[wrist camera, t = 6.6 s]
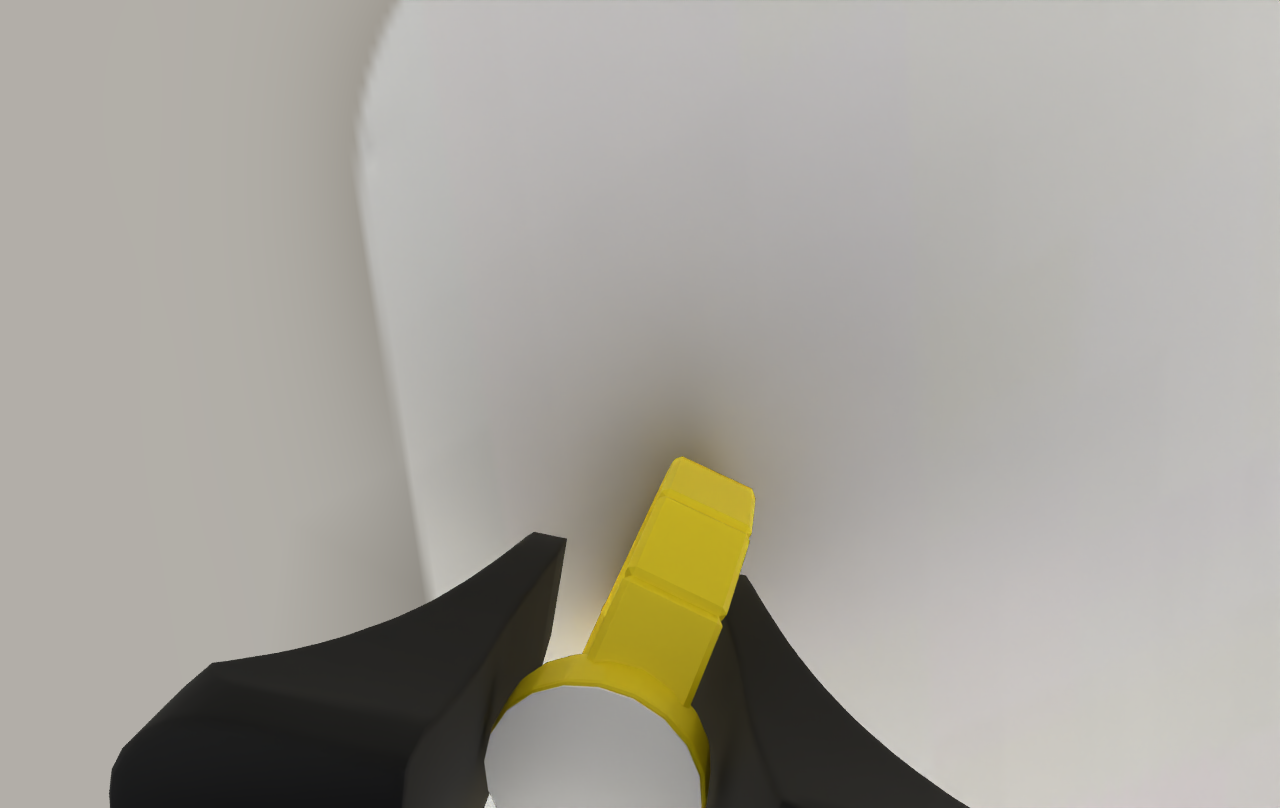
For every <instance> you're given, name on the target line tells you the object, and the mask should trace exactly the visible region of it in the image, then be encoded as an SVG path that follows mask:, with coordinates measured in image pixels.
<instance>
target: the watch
mask: <svg viewBox="0 0 1280 808" xmlns="http://www.w3.org/2000/svg"><path fill="white" fill-rule="evenodd" d="M754 508H755V495H754V493H753V490H752V488H749V487H747V486H745V485H743V484H741V483H739V482H737V481H734V480H732V479H730V478H728V477H726V476H724V475H722V474H719V473H717V472H715V471H713V470H711V469H709V468H707V467H704V466H702V465H700V464H698V463H696V462H694V461H691V460H689V459H687V458H685V457H683V456H682V457H679V458H676V459H674V461H673V462H672V463H671V465H670V467H669V469H668V471H667V473H666V475H665V477H664V479H663V482H662V484H661V486H660V488H659V490H658V492H657V494H656V496H655V498H654V500H653V502H652V505H651V507H650V509H649V511H648V513H647V515H646V517H645V520H644V522H643V524H642V526H641V528H640V530H639V532H638V535H637V537H636V539H635V541H634V543H633V545H632V547H631V549H630V552H629V554H628V556H627V558H626V560H625V562H624V564H623V567H622V569H621V571H620V573H619V575H618V577H617V579H616V582H615V584H614V586H613V588H612V590H611V592H610V594H609V597H608V599H607V601H606V603H605V604H604V606H603V608H602V610H601V611H602V612H601V614H600V616H599V618H598V620H597V622H596V625H595V627H594V629H593V631H592V633H591V635H590V638H589V640H588V642H587V644H586V646H585V649H584V651H583V653H582V654H577V655H572V656H568V657H564V658H561V659H557V660H553V661H550V662H547V663H545V664H543V665H542V666H541V667H539V668H538V669H536V670H535V671H533V672H532V673H530V674H529V675H527V676H526V677H524V678H523V679H522V680H521V681H520V683H519V684H518V685H517V687H516V688H515V690H514V691H513V693H512V694H511V696H510V697H509V698H508V700H507V702H506V703H505V705H504V707H503V709H502V711H501V712H500V714H499V716H498V718H497V720H496V722H495V723H494V725H493V727H492V729H491V733H490V737H489V742H488V746H487V751H486V756H485V760H484V764H485V771H486V778H487V785H488V791H489V793H490V795H491V797H492V799H493V801H494V803H495V805H496V807H497V808H706V804H707V798H708V789H709V781H710V772H711V767H710V748H709V741H708V738H707V736H706V733H705V731H704V728H703V726H702V724H701V721H700V719H699V717H698V714H697V713H696V711H695V710H694V708H693V707H692V706H691V703H692V700H693V698H694V695H695V693H696V691H697V688H698V686H699V683H700V681H701V678H702V676H703V673H704V671H705V668H706V666H707V664H708V661H709V659H710V656H711V654H712V651H713V649H714V646H715V644H716V641H717V639H718V637H719V634H720V632H721V629H722V627H723V626H722V623H721V621H722V620H723V619H724V617H725V616H726V615H727V613H728V610H729V606H730V603H731V600H732V597H733V594H734V590H735V587H736V584H737V581H738V577H739V574H740V571H741V568H742V565H743V561H744V558H745V555H746V552H747V549H748V545H749V542H750V540H749V537H750V536H751V534H752V526H753V517H754Z"/></svg>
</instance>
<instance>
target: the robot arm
mask: <svg viewBox="0 0 1280 808" xmlns="http://www.w3.org/2000/svg"><path fill="white" fill-rule="evenodd" d="M566 542H567V539H566V538H561V537H556V536H551V535H546V534H542V533H537V532H533V533H532V534H530V535H528V536H527V537H526V538H524V539H523V540H522V541H520V542H519V543H518V544H516V545H515V546H514V547H513V548H511V549H510V550H509V551H507V552H506V553H505V554H503V555H502V556H501V557H499V558H498V559H497V560H495V561H494V562H493V563H491V564H490V565H488V566H487V567H485V568H484V569H483V570H481V571H480V572H478V573H477V574H475V575H474V576H472V577H471V578H469V579H468V580H466V581H465V582H463V583H461V584H460V585H458V586H456V587H455V588H453V589H452V590H450V591H448V592H447V593H445V594H443V595H442V596H440V597H438V598H436V599H435V600H433V601H431V602H429V603H427V604H425V605H423V606H421V607H418V608H416V609H414V610H412V611H410V612H407V613H405V614H403V615H401V616H399V617H396V618H394V619H392V620H389V621H386V622H383V623H381V624H378V625H375V626H372V627H369V628H366V629H364V630H361V631H358V632H355V633H352V634H350V635H347V636H343V637H340V638H337V639H333V640H329V641H326V642H322V643H319V644H315V645H311V646H306V647H302V648H298V649H294V650H289V651H284V652H279V653H274V654H268V655H262V656H255V657H249V658H243V659H237V660H231V661H224V662H216V663H212V664H210V665H209V666H208V667H207V668H206V669H205V670H203V671H202V672H201V673H200V674H199V675H198V676H196V677H195V678H194V679H193V680H192V681H191V682H189V683H188V684H187V685H186V686H185V687H184V688H183V689H182V690H181V691H180V692H179V693H178V694H177V695H176V696H175V697H174V698H173V699H171V700H170V702H169V703H167V704H166V705H165V706H164V708H163V709H161V710H160V712H158V713H157V715H155V716H154V717H153V718H152V719H151V720H150V721H149V722H148V723H147V724H146V726H144V727H143V728H142V729H141V730H140V731H139V732H138V734H136V735H135V736H134V737H133V738H132V739H131V741H129V742H128V743H127V744H126V745H125V746H124V747H123V748H122V750H121V752H120V754H119V756H118V758H117V760H116V762H115V764H114V766H113V768H112V772H111V781H110V790H109V791H110V792H109V798H110V808H484V806H485V804H486V801H487V798H488V796H489V791H488V785H487V778H486V771H485V764H484V760H485V756H486V751H487V746H488V742H489V737H490V733H491V729H492V727H493V725H494V723H495V722H496V720H497V718H498V716H499V714H500V712H501V711H502V709H503V707H504V705H505V703H506V702H507V700H508V698H509V697H510V696H511V694H512V693H513V691H514V690H515V688H516V687H517V685H518V684H519V683H520V681H521V680H522V679H523V678H524V677H526V676H527V675H529V674H530V673H532V672H533V671H535V670H536V669H538V668H539V667H541V666H542V664H543V661H544V657H545V654H546V650H547V647H548V643H549V640H550V637H551V632H552V626H553V620H554V614H555V608H556V602H557V596H558V590H559V584H560V578H561V572H562V566H563V560H564V554H565V548H566ZM721 623H722V626H723V627H722V629H721V632H720V634H719V637H718V639H717V641H716V644H715V646H714V649H713V651H712V654H711V656H710V659H709V661H708V664H707V666H706V668H705V671H704V673H703V676H702V678H701V681H700V683H699V686H698V688H697V691H696V693H695V695H694V698H693V700H692V703H691V706H692V707H693V708H694V710H695V711H696V713H697V714H698V717H699V719H700V721H701V724H702V726H703V728H704V731H705V733H706V736H707V738H708V741H709V748H710V767H711V772H710V781H709V789H708V798H707V804H706V808H969V807H968V806H966V805H965V804H963V803H961V802H960V801H958V800H956V799H955V798H953V797H952V796H950V795H949V794H947V793H946V792H945V791H943V790H942V789H940V788H939V787H938V786H936V785H935V784H933V783H932V782H931V781H929V780H928V779H926V778H925V777H924V776H922V775H921V774H919V773H918V772H917V771H915V770H914V769H913V768H911V767H910V766H909V765H908V764H906V763H905V762H904V761H902V760H901V759H900V758H899V757H897V756H896V755H895V754H894V753H892V752H891V751H890V750H889V749H888V748H887V747H885V746H884V745H883V744H882V743H881V742H880V741H879V740H877V739H876V738H875V737H874V736H873V735H872V734H870V733H869V732H868V731H867V730H866V729H865V728H864V727H863V726H862V725H860V724H859V723H858V722H857V721H856V720H855V719H854V718H853V717H852V716H851V715H850V714H849V713H848V712H847V711H846V710H845V709H844V708H843V707H842V706H841V705H840V704H839V703H838V702H837V700H836V699H835V698H834V697H833V696H832V695H831V694H830V693H829V692H828V691H827V690H826V689H825V688H824V687H823V685H822V684H821V683H820V682H819V681H818V680H817V679H816V677H815V676H814V675H813V674H812V672H811V671H810V670H809V669H808V667H807V666H806V665H805V664H804V662H803V661H802V660H801V659H800V657H799V656H798V655H797V653H796V652H795V651H794V649H793V648H792V647H791V645H790V644H789V642H788V641H787V640H786V638H785V637H784V635H783V634H782V632H781V631H780V629H779V628H778V626H777V625H776V623H775V622H774V620H773V619H772V617H771V615H770V614H769V612H768V611H767V609H766V607H765V606H764V604H763V602H762V601H761V599H760V598H759V596H758V594H757V593H756V591H755V589H754V588H753V586H752V584H751V583H750V581H749V580H748V578H747V576H745V575H740V574H739V577H738V581H737V584H736V587H735V590H734V594H733V597H732V600H731V603H730V606H729V610H728V613H727V615H726V616H725V617H724V619H723V620H722V621H721Z"/></svg>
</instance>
